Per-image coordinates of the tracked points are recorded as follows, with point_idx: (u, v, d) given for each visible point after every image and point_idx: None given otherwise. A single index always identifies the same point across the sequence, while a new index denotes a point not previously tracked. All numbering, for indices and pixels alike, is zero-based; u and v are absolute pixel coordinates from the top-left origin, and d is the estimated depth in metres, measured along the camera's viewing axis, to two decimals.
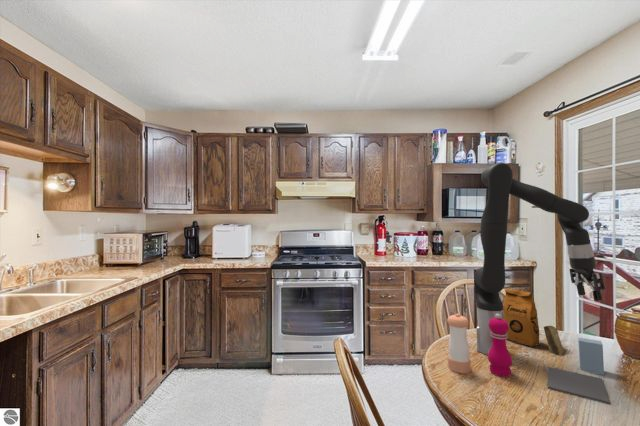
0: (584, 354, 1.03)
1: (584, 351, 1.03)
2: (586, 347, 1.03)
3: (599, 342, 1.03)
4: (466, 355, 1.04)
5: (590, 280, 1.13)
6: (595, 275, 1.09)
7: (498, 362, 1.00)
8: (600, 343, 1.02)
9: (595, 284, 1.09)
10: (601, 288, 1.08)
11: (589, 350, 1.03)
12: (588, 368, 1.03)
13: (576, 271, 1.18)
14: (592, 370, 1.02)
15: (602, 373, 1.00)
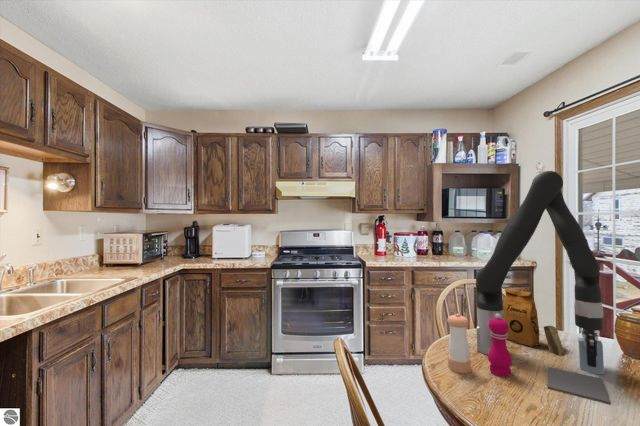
0: (584, 354, 1.03)
1: (584, 351, 1.03)
2: None
3: (599, 342, 1.03)
4: (466, 355, 1.04)
5: None
6: (588, 341, 0.99)
7: (498, 362, 1.00)
8: (600, 343, 1.02)
9: (587, 349, 1.01)
10: (592, 354, 1.00)
11: (589, 350, 1.03)
12: (588, 368, 1.03)
13: (584, 328, 1.07)
14: (592, 370, 1.02)
15: (602, 373, 1.01)
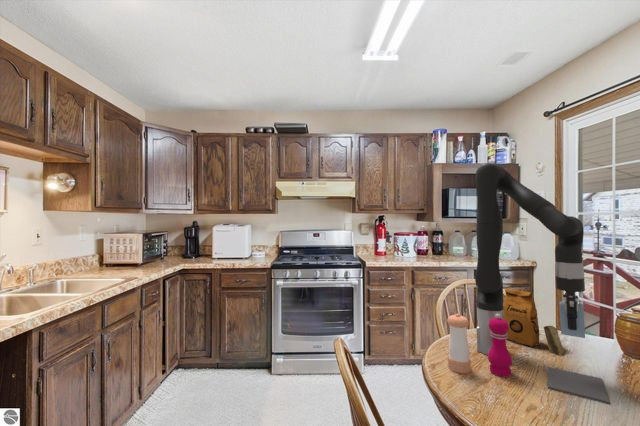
0: (564, 318, 0.99)
1: (564, 315, 0.99)
2: None
3: (580, 305, 0.98)
4: (466, 355, 1.04)
5: None
6: (568, 303, 0.95)
7: (498, 362, 1.00)
8: (581, 305, 0.97)
9: (567, 311, 0.96)
10: (572, 316, 0.96)
11: (570, 313, 0.98)
12: (569, 332, 0.98)
13: None
14: (573, 334, 0.98)
15: (583, 336, 0.96)
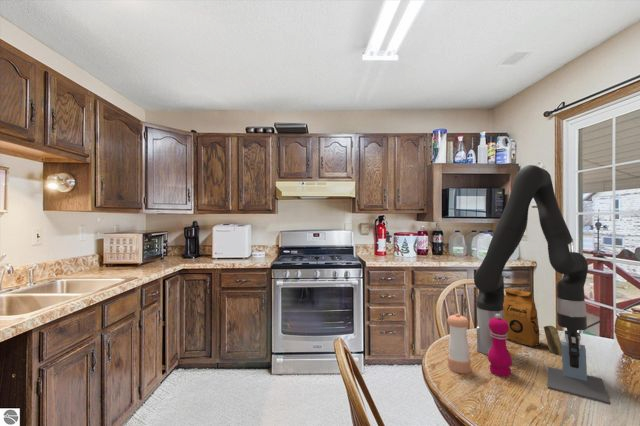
0: (566, 359, 0.98)
1: (566, 356, 0.98)
2: None
3: (582, 346, 0.98)
4: (466, 355, 1.04)
5: None
6: (570, 338, 0.94)
7: (498, 362, 1.00)
8: (583, 347, 0.97)
9: (569, 348, 0.95)
10: (575, 354, 0.94)
11: None
12: (571, 374, 0.98)
13: None
14: (575, 376, 0.97)
15: (585, 379, 0.96)
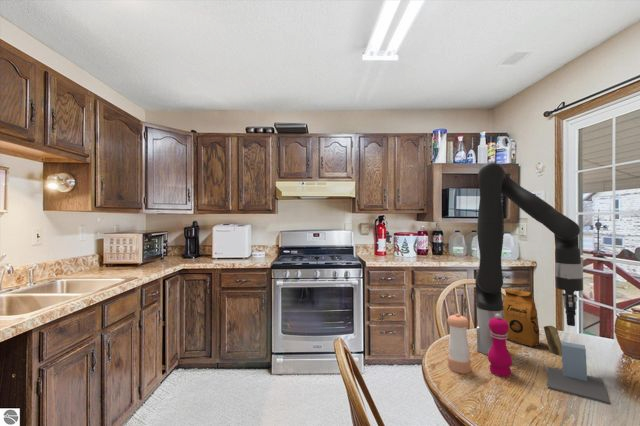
0: (566, 359, 0.98)
1: (566, 356, 0.98)
2: (569, 352, 0.98)
3: (582, 346, 0.98)
4: (466, 355, 1.04)
5: None
6: (567, 304, 1.02)
7: (498, 362, 1.00)
8: (583, 347, 0.97)
9: (566, 309, 1.04)
10: (571, 313, 1.03)
11: (572, 355, 0.98)
12: (571, 374, 0.98)
13: None
14: (575, 376, 0.97)
15: (585, 379, 0.96)
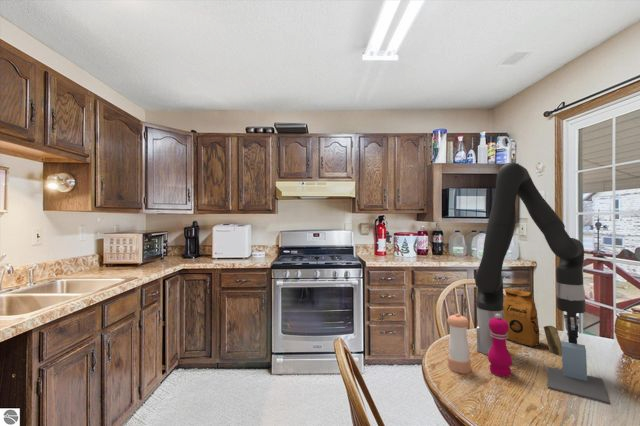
0: (566, 360, 0.98)
1: (566, 357, 0.98)
2: (569, 352, 0.98)
3: (582, 347, 0.97)
4: (466, 355, 1.04)
5: None
6: (570, 327, 0.97)
7: (498, 362, 1.00)
8: (583, 348, 0.96)
9: (568, 332, 0.99)
10: (573, 336, 0.99)
11: (572, 356, 0.97)
12: (571, 374, 0.98)
13: None
14: (575, 376, 0.97)
15: (585, 379, 0.96)
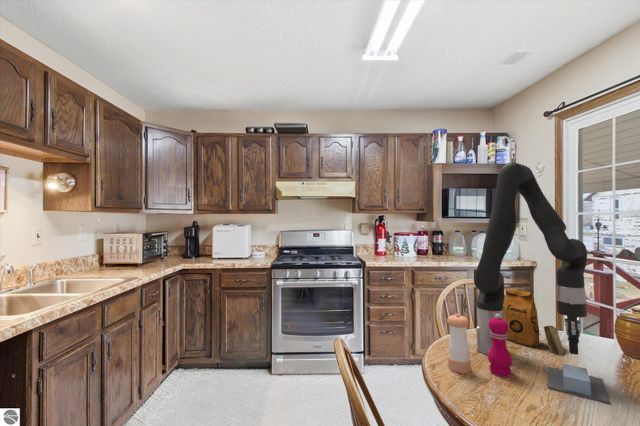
0: None
1: None
2: None
3: (588, 388, 0.88)
4: (466, 355, 1.04)
5: None
6: (570, 332, 0.94)
7: (498, 362, 1.00)
8: (588, 391, 0.88)
9: (568, 337, 0.96)
10: (574, 341, 0.95)
11: None
12: None
13: (567, 316, 1.01)
14: None
15: None
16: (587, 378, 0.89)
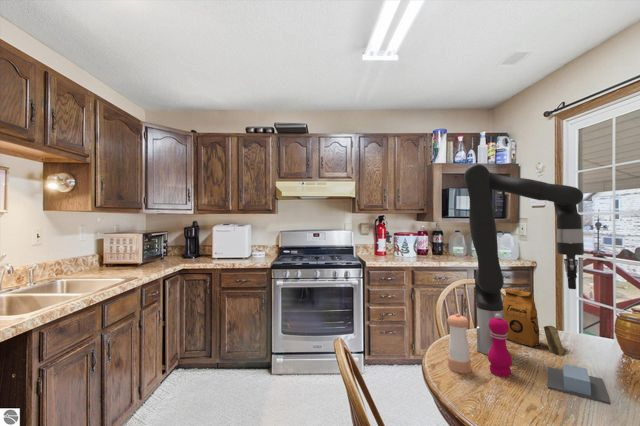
0: None
1: None
2: None
3: (588, 388, 0.88)
4: (466, 355, 1.04)
5: None
6: (569, 267, 1.06)
7: (498, 362, 1.00)
8: (588, 391, 0.88)
9: (567, 273, 1.08)
10: (572, 276, 1.07)
11: None
12: None
13: (566, 257, 1.13)
14: None
15: None
16: (587, 378, 0.89)
